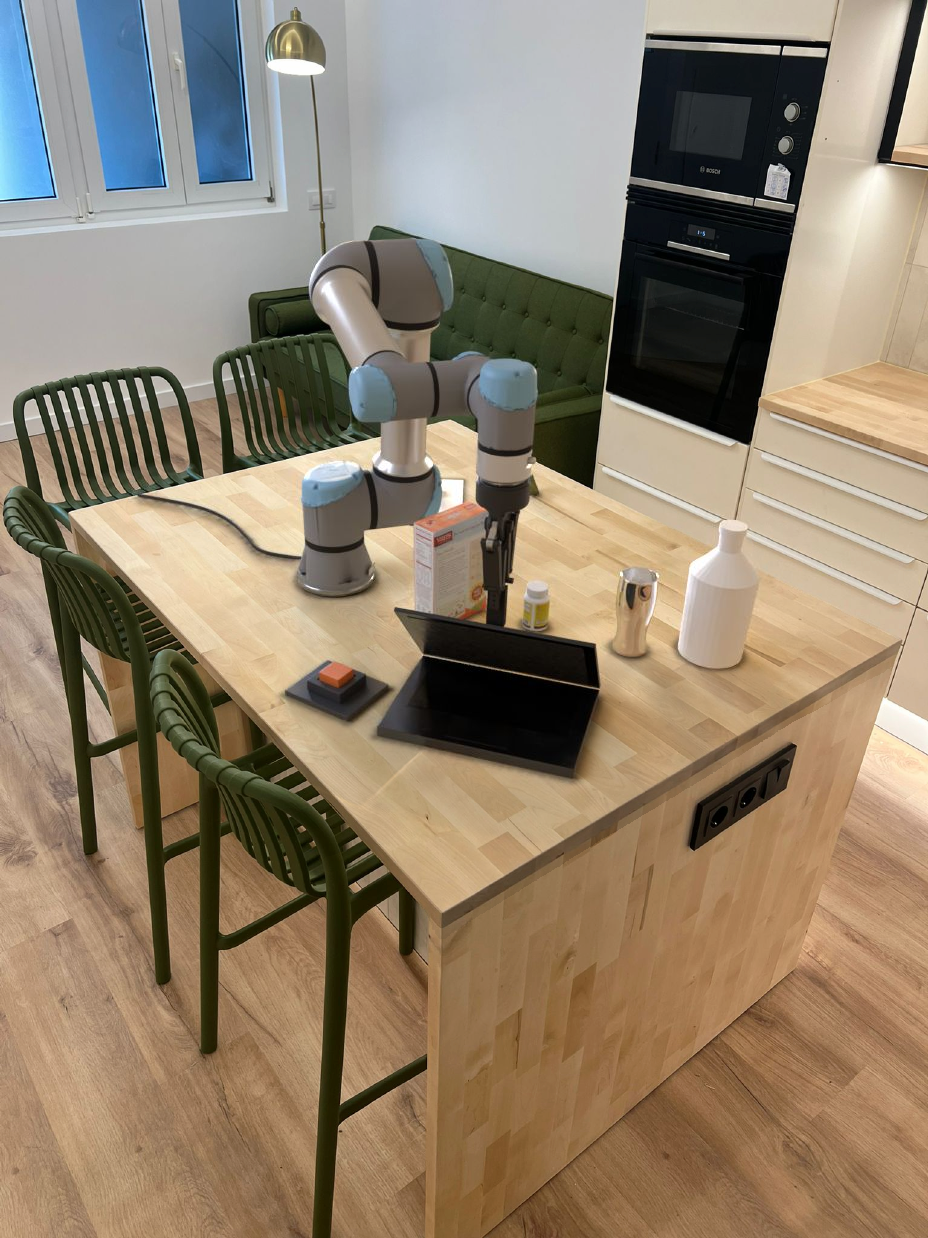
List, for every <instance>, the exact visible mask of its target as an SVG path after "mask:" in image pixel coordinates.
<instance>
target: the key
mask: <svg viewBox="0 0 928 1238" xmlns="http://www.w3.org/2000/svg"><path fill="white" fill-rule="evenodd" d="M333 661H334V662H333ZM333 661H332V662H333V663H331V664H330V665H329V666H327V667H326V668H324V669H323V670H322V671H320V672H319V681H322V682H324V683H327V684H329V685H331V686H334V687H336V688H340V687H341V686H343V685H344V684H345V683H347V682H348V681H349V680H351V679H352V678H353V677H354V671H353V669H354V668H352V667H350V666H347V665H345V664H342V663H340V662H337V661H335V660H333Z"/></svg>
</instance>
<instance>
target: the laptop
mask: <svg viewBox="0 0 928 1238" xmlns="http://www.w3.org/2000/svg"><path fill="white" fill-rule="evenodd" d="M600 690H601V689H598V688H593V687H588V686H583V685H577V684H572V683H567V682H562V681H557V680H552V679H547V678H541V677H536V676H531V675H526V674H521V673H516V672H511V671H505V670H500V669H495V668H490V667H485V666H480V665H475V664H469V663H464V662H459V661H454V660H449V659H444V658H438V657H433V656H428V655H423V654H422V656H421V658H420V659H419V661H418V662H417V664H416V665H415V667H414V668H413V670H412V671H411V673H410V675H409V676H408V678H407V679H406V681H405V682H404V684H403V685H402V687H401V688H400V690H399V692H398V693H397V695H396V697H394V700H393V701H392V703H390V706H389V707H388V709H387V710H386V711H385V714H384V715H383V717H382V718H381V720H380V721H379V723H378V725H377V726H376V736H377V737H381V738H385V739H389V740H394V741H399V742H403V743H407V744H413V745H417V746H421V747H425V748H429V749H435V750H439V751H443V752H447V753H448V752H449V753H453V754H458V755H462V756H467V757H471V758H476V759H480V760H486V761H490V762H494V763H498V764H502V765H503V764H504V765H507V766H513V767H517V768H522V769H527V770H530V771H536V772H538V773H539V772H540V773H545V774H548V775H549V774H550V775H553V776H558V777H563V778H568V779H574V777H575V774H576V771H577V768H578V765H579V762H580V759H581V755H582V752H583V749H584V747H585V743H586V740H587V737H588V733H589V730H590V727H591V724H592V721H593V717H594V715H595V711H596V709H597V705H598V702H599V699H600V692H601V691H600Z"/></svg>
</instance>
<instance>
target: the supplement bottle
mask: <svg viewBox="0 0 928 1238" xmlns="http://www.w3.org/2000/svg"><path fill="white" fill-rule="evenodd" d="M550 601H551V598H550V595H549V585H548V583H546V582H544V581H541V580H533V581H529V582H528V583H527V584H526V589H525V594H524V596H523V603H522V604H523V605H522V606H523V607H522V626H523V628H524V629H526V630H527V631H530V632H542V631H544V630H546V629H547V628H548V625H549V615H550V603H551V602H550Z"/></svg>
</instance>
